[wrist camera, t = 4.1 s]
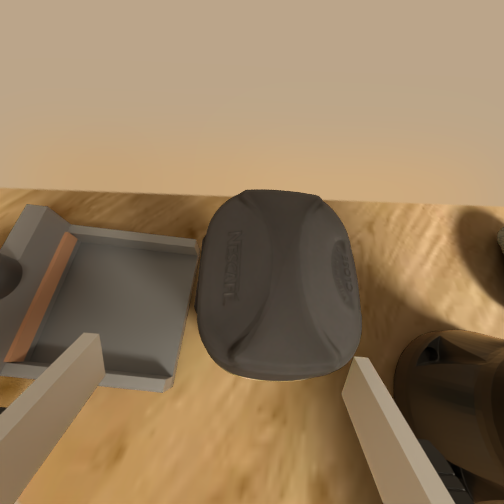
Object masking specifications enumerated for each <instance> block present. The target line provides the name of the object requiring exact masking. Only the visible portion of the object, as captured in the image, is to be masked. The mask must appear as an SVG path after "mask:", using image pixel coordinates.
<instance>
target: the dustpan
mask: <svg viewBox="0 0 504 504" xmlns="http://www.w3.org/2000/svg"><path fill="white" fill-rule="evenodd" d="M199 256H200V249H199V246H198V243H197V240H196V239H189V238H180V237H172V236H164V235H155V234H147V233H138V232H130V231H122V230H113V229H105V228H96V227H88V226H80V225H71V224H70V223H68V222H67V221H66V220H64V219H63V218H62V217H60V216H59V215H58V214H57V213H55V212H54V211H53V210H51V209H50V208H49V207H47V206H38V205H30V204H27V205H26V206H25V208H24V210H23V212H22V213H21V215H20V217H19V218H18V220H17V222H16V224H15V225H14V227H13V229H12V230H11V232H10V234H9V236H8V237H7V239H6V241H5V243H4V244H3V246H2V248H1V249H0V376H8V377H18V378H28V379H37V378H38V377H39V376H40V375H41V374H42V373H43V372H44V371H45V370H46V369H47V368H48V367H49V366H50V365H51V364H52V363H53V362H54V361H55V360H56V359H57V358H58V357H60V356H61V355H62V354H63V353H64V352H65V351H66V350H67V349H68V348H69V347H70V346H71V345H72V344H73V343H74V342H75V341H76V340H77V339H78V338H79V337H80V336H81V335H82V334H83V333H95V334H99V335H100V342H101V348H102V355H103V361H104V368H105V376H104V378H103V379H102V380H101V382H100V383H99V385H98V386H104V387H113V388H123V389H133V390H142V391H152V392H161V393H163V392H165V391H166V390H168V389H170V388H172V387H173V383H174V378H175V373H176V368H177V363H178V359H179V354H180V349H181V344H182V339H183V334H184V329H185V324H186V320H187V315H188V310H189V305H190V300H191V295H192V290H193V285H194V281H195V276H196V271H197V266H198V261H199Z"/></svg>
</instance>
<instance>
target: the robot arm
mask: <svg viewBox="0 0 504 504" xmlns="http://www.w3.org/2000/svg"><path fill="white" fill-rule="evenodd" d="M104 376H105V368H104V361H103V355H102V348H101V342H100V335H99V334H95V333H83V334H82V335H81V336H80V337H79V338H78V339H77V340H76V341H75V342H74V343H73V344H72V345H71V346H70V347H69V348H68V349H67V350H66V351H65V352H64V353H63V354H62V355H61V356H60V357H58V358H57V359H56V360H55V361H54V362H53V363H52V364H51V365H50V366H49V367H48V368H47V369H46V370H45V371H44V372H43V373H42V374H41V375H40V376H39V377H38V378H37V379H36V380H35V381H34V382H33V383H32V384H31V385H30V386H29V387H28V388H27V389H26V390H25V391H24V392H23V393H22V394H21V395H20V396H19V397H18V398H17V399H16V400H15V401H14V402H13V403H12V404H11V405H10V406H9V407H8V408H5V407H0V504H14V503H15V502H16V500H17V499H18V497H19V496H20V495H21V493H22V492H23V490H24V489H25V487H26V486H27V485H28V483H29V482H30V480H31V479H32V478H33V476H34V475H35V473H36V472H37V471H38V469H39V468H40V466H41V465H42V464H43V462H44V461H45V459H46V458H47V456H48V455H49V454H50V452H51V451H52V449H53V448H54V447H55V445H56V444H57V442H58V441H59V440H60V438H61V437H62V435H63V434H64V433H65V431H66V430H67V428H68V427H69V425H70V424H71V423H72V421H73V420H74V418H75V417H76V416H77V414H78V413H79V411H80V410H81V409H82V407H83V406H84V404H85V403H86V402H87V400H88V399H89V397H90V396H91V394H92V393H93V392H94V390H95V389H96V387H97V386H98V385H99V383H100V382H101V380H102V379H103V378H104ZM341 395H342V398H343V400H344V403H345V405H346V408H347V411H348V413H349V416H350V418H351V421H352V424H353V426H354V429H355V432H356V434H357V437H358V439H359V442H360V445H361V447H362V450H363V452H364V455H365V458H366V460H367V463H368V465H369V468H370V471H371V473H372V476H373V478H374V481H375V484H376V486H377V489H378V491H379V494H380V497H381V499H382V502H383V504H504V340H503V339H499V338H495V337H492V336H488V335H484V334H480V333H476V332H471V331H465V330H446V331H435V332H430V333H426V334H424V335H422V336H420V337H418V338H416V339H415V340H414V341H412V342H411V343H410V344H409V345H408V346H407V347H406V349H405V350H404V352H403V353H402V355H401V357H400V359H399V362H398V364H397V368H396V372H395V379H394V397H395V402H394V400H393V399H392V397H391V395H390V393H389V392H388V390H387V388H386V387H385V385H384V383H383V382H382V380H381V378H380V377H379V375H378V373H377V372H376V370H375V368H374V367H373V365H372V363H371V362H370V360H369V358H366V357H355V356H354V357H353V360H352V363H351V366H350V369H349V372H348V375H347V378H346V381H345V384H344V388H343V391H342V394H341Z"/></svg>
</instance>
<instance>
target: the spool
mask: <svg viewBox="0 0 504 504" xmlns="http://www.w3.org/2000/svg"><path fill="white" fill-rule="evenodd" d="M497 242H498V244H499V245H500V246H501V249H502V252H503V254H504V227H503V228H502V229H501V230H500V231H499V232H498V236H497Z"/></svg>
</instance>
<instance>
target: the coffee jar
mask: <svg viewBox="0 0 504 504" xmlns="http://www.w3.org/2000/svg"><path fill="white" fill-rule="evenodd" d="M194 307H195V310H196V313H197V323H198V329H199V334H200V337H201V340H202V342H203V344H204V346H205V348H206V350H207V352H208V354H209V355H210V356H211V358H212V359H213V360H214V361H215V362H216V363H217V364H218V365H219V366H220V367H221V368H222V369H224V370H225V371H227V372H229V373H230V374H232V375H235V376H238V377H241V378H246V379H251V380H259V381H273V382H291V381H300V380H306V379H310V378H313V377H319V376H324V375H327V374H330V373H332V372H334V371H336V370H338V369H340V368H341V367H343V366H344V365H345V364H347V363H348V362H349V361H350V359H351V358H352V357H353V355H354V354H355V352H356V350H357V348H358V345H359V342H360V338H361V331H362V315H361V307H360V298H359V288H358V281H357V275H356V269H355V264H354V259H353V255H352V250H351V246H350V241H349V237H348V234H347V231H346V229H345V227H344V225H343V223H342V222H341V220H340V218H339V217H338V216H337V214H336V213H335V212H334V211H333V210H332V209H331V208H330V207H329V206H328V205H327V204H326V203H325V202H323V201H322V199H321V198H320V197H319V196H316V195H312V194H306V193H300V192H291V191H281V190H280V191H279V190H245V191H243V192H242V193H240V194H238V195H236V196H234V197H232V198H231V199H229V200H228V201H226V202H225V203H224V204H223V205H222V206H221V207H220V208H219V209H218V210H217V211H216V213H215V214H214V216H213V217H212V219H211V221H210V223H209V226H208V230H207V234H206V235H205V237H204V238H203V241H202V251H201V259H200V267H199V276H198V283H197V290H196V297H195V305H194Z"/></svg>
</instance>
